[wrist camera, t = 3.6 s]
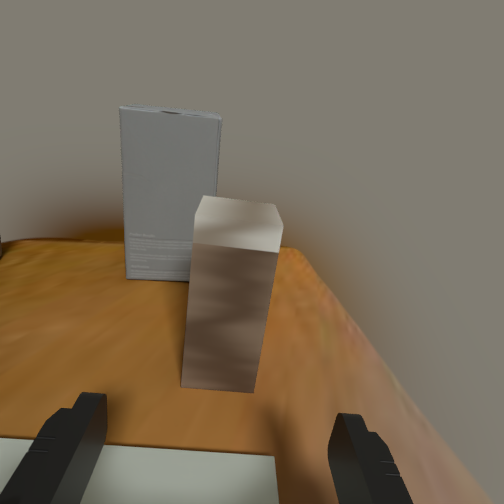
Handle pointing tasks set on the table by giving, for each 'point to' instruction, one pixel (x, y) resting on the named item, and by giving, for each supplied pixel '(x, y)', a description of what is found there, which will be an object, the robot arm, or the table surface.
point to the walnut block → (229, 292)
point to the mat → (165, 476)
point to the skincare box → (165, 185)
